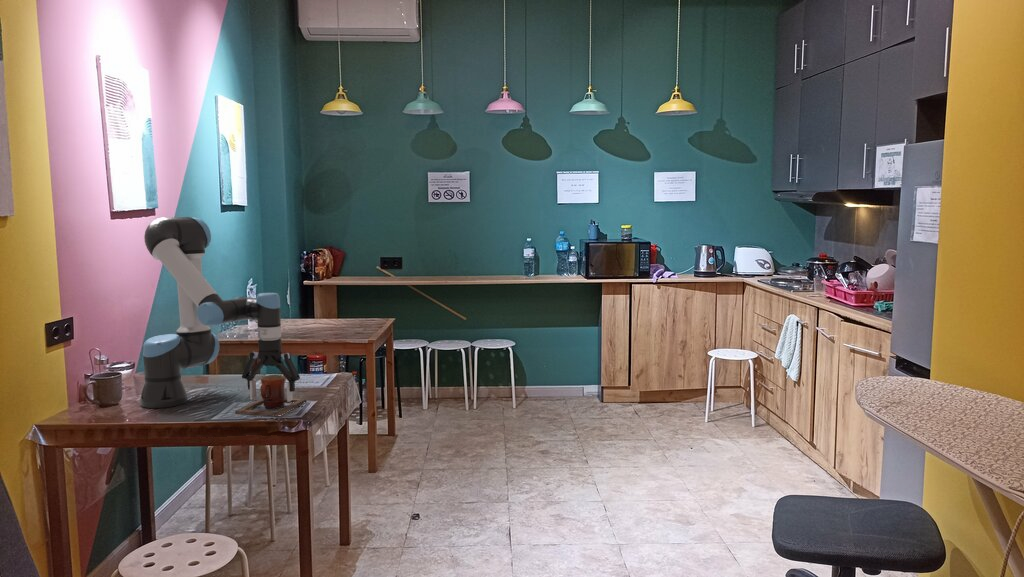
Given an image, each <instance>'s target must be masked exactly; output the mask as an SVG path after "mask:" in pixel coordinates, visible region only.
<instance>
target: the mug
mask: <svg viewBox="0 0 1024 577" xmlns="http://www.w3.org/2000/svg"><path fill="white" fill-rule="evenodd" d="M259 380H260V383H261V385H260V391H259V392H260V397H261V398H263V403H262V404H263V407H264V408H266V409H269V408H271V409H273V408H275V409H280V408H282V407H284V406H285V405H286V402H285V398H286V390H285V389H286V388H285V385H286V381H287V379H286V378H285V376H284V375H283V374H267V375H264V376H261V377H259ZM279 407H280V408H279Z"/></svg>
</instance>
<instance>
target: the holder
mask: <svg viewBox="0 0 1024 577" xmlns="http://www.w3.org/2000/svg"><path fill="white" fill-rule="evenodd" d="M290 402H292V403H289V404H288V405H287V406H285V407H283V408H281V409H279V410H276V411H275V410H257V409H253V408H256V407H258V406H260V405H262V404H263V398H262V397H261V398H259V399H257V400H255V401H252V402H251V403H249V404H246V405H245V406H242V407H241V408H238V409H235V411H234V413H236V414H235V415H248V414H250V415H251V416H265V415H274V416H273V417H279V416H278V415H282V414H283V415H285V414H287V413H288V412H287V411H289V410H291V409H292V410H294V409H296V408H298V407H300V406H301V405H303V404H305V403H306V402H307V398H296V397H295V398H294V397H293V400H292V401H290ZM293 402H294V403H293ZM304 402H305V403H304ZM285 403H288V402H287V397H285ZM299 405H300V406H299ZM297 406H298V407H297ZM295 407H296V408H295ZM293 408H294V409H293ZM292 410H291V411H292ZM286 412H287V413H286ZM289 412H290V411H289ZM284 413H285V414H284ZM250 415H249V416H250ZM275 415H277V416H275ZM283 415H282V416H283Z"/></svg>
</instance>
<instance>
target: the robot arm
mask: <svg viewBox="0 0 1024 577" xmlns="http://www.w3.org/2000/svg"><path fill="white" fill-rule="evenodd" d="M143 237H144V238H143V239H144V245H145V246H146V249H147V250H148V253H149V254H150V255H151V256H152V257H153V259H155V260H156V261H159V262H161V264H162V265H163V266H164V268H165V269H167V271H168V272H169V274H170V275H171V276H172V277H173V279H175V281H176V284H177V285H176V286H177V296H178V298H177V299H178V311H179V313H178V314H179V322H180V325H179V327H178V328H177V330H176V333H166V334H158V335H155V336H152V337H149V338H147V339H146V340H145V341H144V343H143V345H142V346H143V349H142V351H143V352H142V356H143V369H144V370H143V371H144V373H143V374H144V384H143V387H142V391H141V396H140V398H139V403H140V404H139V405H140V407H142V408H147V409H148V408H149V409H163V408H171V407H175V406H181V405H184V404H185V403H187V402H188V397H189V395H188V392H187V389H186V388H185V385H184V383H183V380H182V370H186V369H190V368H195V367H203V366H204V365H205V366H206V365H209V364H210V363H213V362H214V361H215V360H216V358H217V357H218V355H219V351H220V341H219V338H218V337H217V335H216V334H215V333H214V332H212V328H211V327H210V326H218V325H222V324H226V323H233V322H241V321H245V320H248V321H249V320H250V321H257V337H258V340H257V344H258V345H257V350H258V352H257V351H256V350H255V351H251V352H250V353H249V359H248V361H247V364H246V366H245V367H244V368H245V369H244V371H243V373H242V375H241V378H242V379H245V380H246V381H247V389H248V390H249V396H250V398H249V399H250V400H251V401H252V400H254V399H257V380H256V379H255V377H256V376H257V375H258V373H259V372H260V371H261V369H262V368H263V367H264V366H265V367H269V366H270V367H276V368H277V369H278V370H279V371H280V373H281V375H284V376H285V378H286V381H288V382H286V398H287V402H286V403H289V402H290V401H292V400H293V398H294V396H293V395H294V392H295V390H296V388H295V387H296V385H295V382H297V381H299V380H300V379H301V376H300V374H299V372H298V370H297V369H296V366H295V364H294V362H293V360H292V355H291V353H290V352H286V353H282V339H281V337H282V326H281V325H282V324H281V318H282V317H281V306H282V305H281V298H280V295H279V293H277V292H261V293H258V294H257V295H256V297H246V296H237V297H234V298H233V299H226V300H224V299H222V297H221V296H220V295H219V294H218V293H217V292H216V290H215V289H214V288H213V287H212V285H211V284H210V283H209V282H208V281H207V280H206V278H205V277H204V276H203V269H202V268H203V266H202V258H203V257H204V256H205V255H206V249H207V248H208V247H210V246H209V245H210V243H211V241H212V234H211V229H210V227H209V225H208V224H207V223H206V222H205V221H204V220H203V219H201V218H199V217H193V216H182V217H181V216H178V217H177V216H175V217H171V216H169V217H158V218H155V219H154V220H152V221H151V222H150V223H148V225H147V227H146V229H145V232H144V236H143ZM257 359H259V361H258V363H257V364H256V366H255V367H254V368H253V366H254V364H255V363H256V360H257ZM283 360H284V362H283Z"/></svg>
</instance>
